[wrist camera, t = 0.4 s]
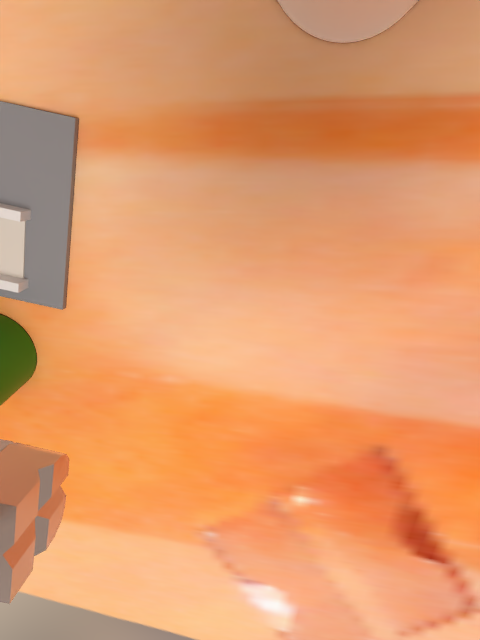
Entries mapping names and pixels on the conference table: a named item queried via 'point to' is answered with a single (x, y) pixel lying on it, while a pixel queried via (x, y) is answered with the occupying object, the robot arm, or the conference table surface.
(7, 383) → the motor
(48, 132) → the mounting plate
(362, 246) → the conference table surface
